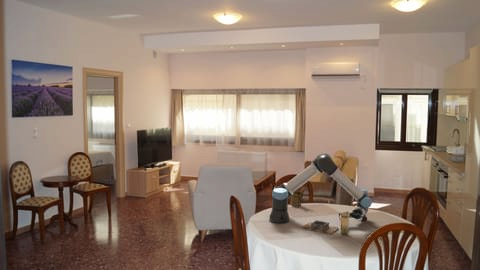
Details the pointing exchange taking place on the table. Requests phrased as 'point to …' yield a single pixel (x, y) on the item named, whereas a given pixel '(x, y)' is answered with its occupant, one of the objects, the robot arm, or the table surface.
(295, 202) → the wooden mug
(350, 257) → the table surface
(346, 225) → the brass fitting
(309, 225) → the wooden board with frame
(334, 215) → the table surface
